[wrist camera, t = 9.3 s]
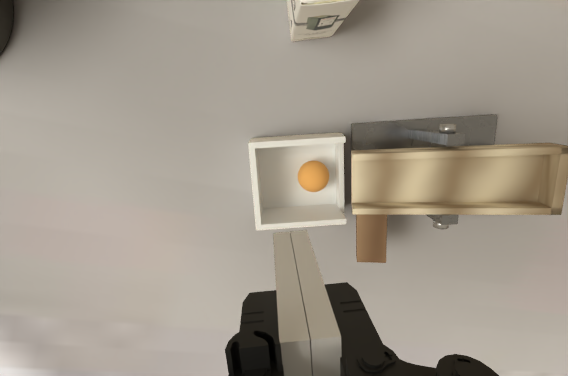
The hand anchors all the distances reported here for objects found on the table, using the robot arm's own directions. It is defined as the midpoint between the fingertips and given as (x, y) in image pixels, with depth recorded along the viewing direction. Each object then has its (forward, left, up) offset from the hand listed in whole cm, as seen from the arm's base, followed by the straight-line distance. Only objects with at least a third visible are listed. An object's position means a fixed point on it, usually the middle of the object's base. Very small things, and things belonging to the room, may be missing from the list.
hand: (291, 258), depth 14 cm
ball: (+1, +3, -22) cm, 23 cm away
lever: (+4, +16, -16) cm, 23 cm away
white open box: (+1, +2, -23) cm, 23 cm away
